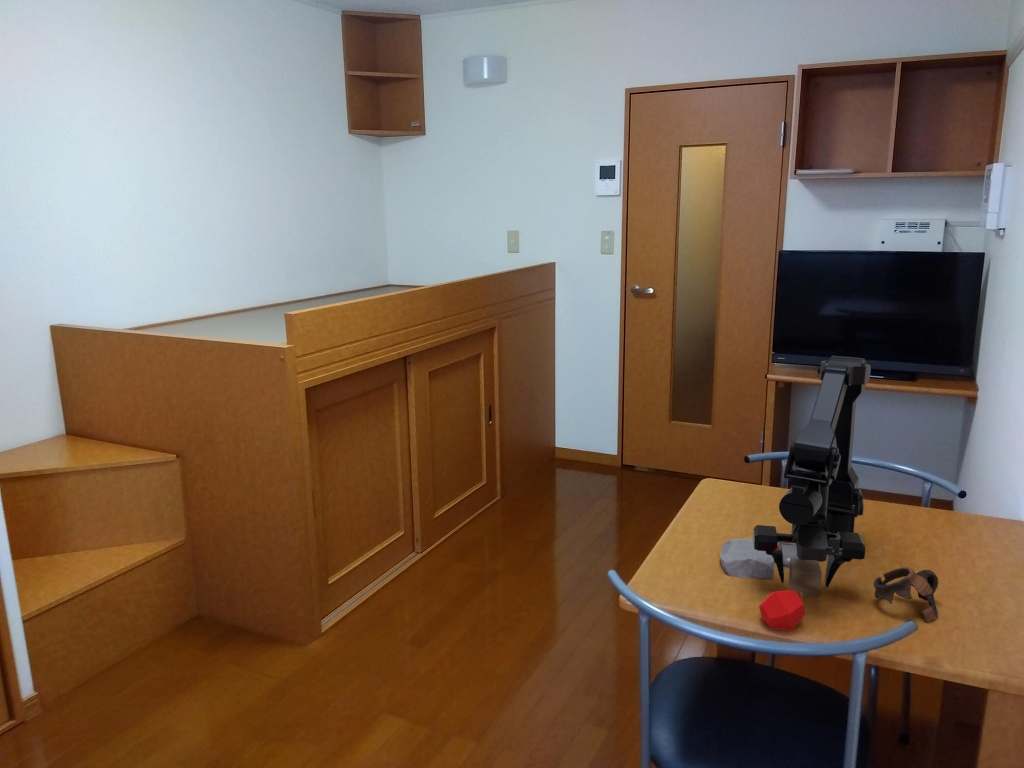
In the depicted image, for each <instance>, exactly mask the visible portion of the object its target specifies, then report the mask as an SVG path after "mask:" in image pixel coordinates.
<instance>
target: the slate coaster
mask: <svg viewBox="0 0 1024 768" xmlns="http://www.w3.org/2000/svg"><path fill="white" fill-rule="evenodd" d="M782 553H783V567H785V568H789V566H790V558H795V559H799V558H798V557H797V548H796V545H785V544H782ZM773 560H774V559H773ZM774 564H776V563H775V561H774Z"/></svg>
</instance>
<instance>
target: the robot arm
mask: <svg viewBox="0 0 1024 768" xmlns="http://www.w3.org/2000/svg"><path fill="white" fill-rule="evenodd" d="M871 370H872V369H871V364H868V362H867V361H866V359H865V358H861V357H852V356H841V355H840V356H838V355H831V356H830V358H829V360H822V361H820V368H819V379H818V380H819V381H821V382H820V386H819V390H818V393H817V395H816V400H815V403H814V405H813V410H812V412H811V416H810V419H809V421H808V423H807V424H805V425H804V426H803V427H801V428H800V429H799V430H798V432H797V435H796V438H795V439H794V441H792V442H791V444H790V448H789V452H788V455H787V459H786V460H787V461H786V464H785V469H784V473H783V479H788V480H792V481H791V482H792V483H791V487H790V488H789V489H788V491H787V492H786V493H785V494H784V495H783V496H782V498H781V499H780V501H779V504H778V508H779V509H778V510H779V512H780V515H781V517H782V518H783V520H785V521H786V522H787V523H789V524H791V532H790V533H779V532H777V527H776V526H773V525H761V524H756V525H755V526H754V527H753V529H752V531H753V532H752V539H753V542H754V549H755V550H758V551H765V552H766V554H767V555H771V556H772V557H773V559H774V561H775V563H774V564H776V567H777V571H778V576H779V578H780V579H779V580H780V583H781V584H784V583H785V569H784V567H785V566H783V553H782V545H783V544H785V545H796V548H797V557H798V558H799V559H801V560H815V561H818V562H819V563H823V562H825V561H827V562H826V569H825V576H824V586H825V588H829V587H830V586H831V585H830V584H831V582H832V581H833V579H834V576H835V574H836V573H837V571H838V570H839V568H840V567H841V566H842V565H843V564H844V563H850V562H852V560H864V559H865V557H866V545H865V542H864V539H863V538H862V536H861V535H860V534H859V533H858V532H855V522H856V521H855V520H856V518H858V517H859V516H863V515H864V512H865V511H864V509H865V504H864V496H863V495H862V494H863V493H862V489H861V488H859V483H860V480H859V479H860V478H859V476H858V474H857V473H856V471H855V469H854V468H853V467H852V462H853V461H852V460H853V459H852V458H853V446H854V437H855V436H854V434H855V419H856V407H857V406H856V405H857V399H858V398H859V396H860V395H861V394H862V393H863V391H864V390H865V388H867V384H868V383H869V381H870V377H871ZM794 466H795V469H794ZM796 468H797V469H796ZM827 556H828V557H827Z"/></svg>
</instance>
